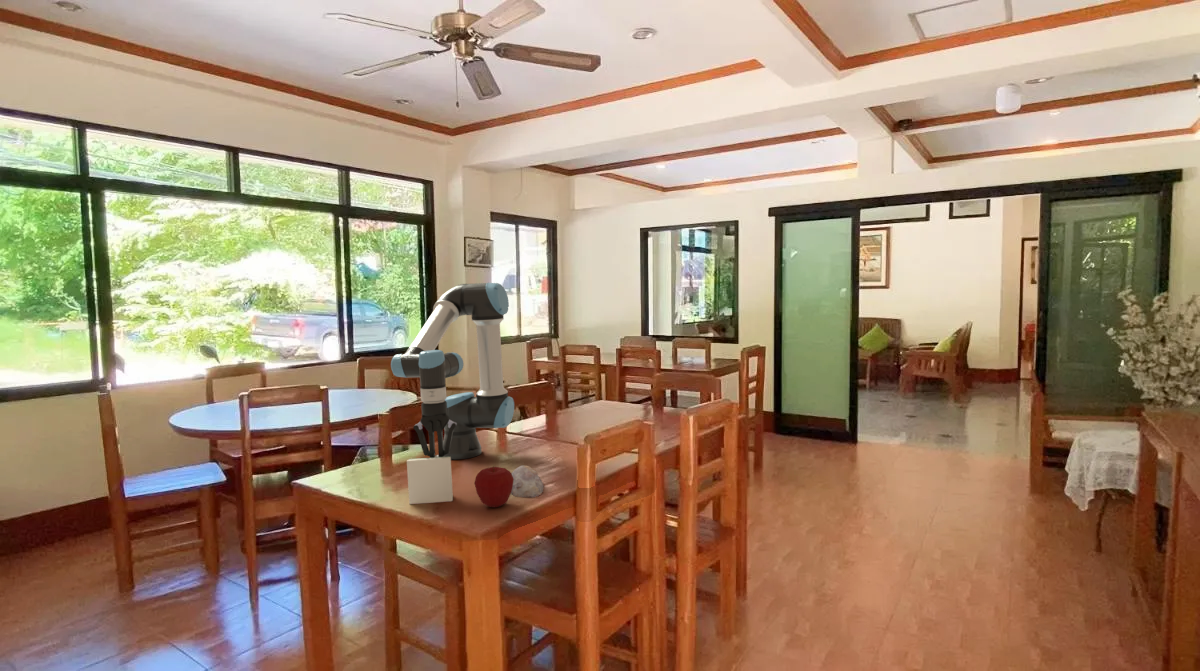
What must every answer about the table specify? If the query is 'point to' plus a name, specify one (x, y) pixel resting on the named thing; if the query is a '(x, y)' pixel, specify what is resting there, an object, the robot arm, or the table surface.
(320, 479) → the table surface
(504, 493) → the apple
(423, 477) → the wall
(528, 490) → the stone
